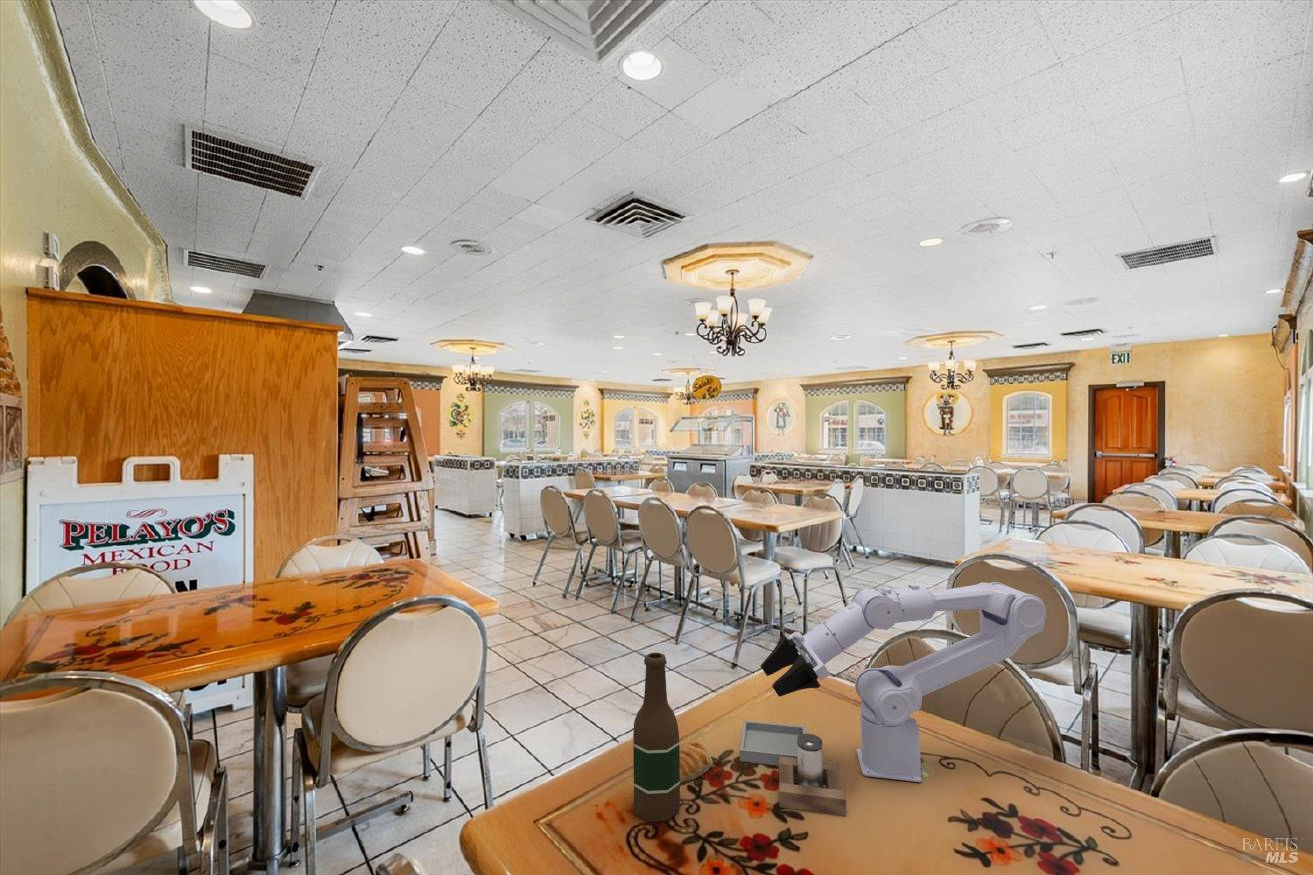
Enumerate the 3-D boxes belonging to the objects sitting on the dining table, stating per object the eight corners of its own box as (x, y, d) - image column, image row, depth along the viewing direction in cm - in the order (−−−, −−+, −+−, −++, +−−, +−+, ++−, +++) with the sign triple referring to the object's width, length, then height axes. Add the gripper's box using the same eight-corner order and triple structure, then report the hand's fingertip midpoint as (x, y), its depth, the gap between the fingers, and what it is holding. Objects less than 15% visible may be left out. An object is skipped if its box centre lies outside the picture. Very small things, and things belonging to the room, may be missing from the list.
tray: (805, 736, 108) (805, 726, 108) (808, 768, 97) (808, 757, 97) (743, 730, 110) (743, 720, 110) (739, 761, 100) (739, 749, 100)
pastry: (683, 793, 91) (682, 770, 91) (652, 778, 95) (652, 755, 95) (715, 767, 98) (715, 745, 98) (685, 754, 102) (685, 733, 103)
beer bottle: (686, 797, 89) (685, 649, 90) (672, 828, 82) (671, 667, 82) (642, 787, 92) (641, 644, 92) (624, 817, 85) (623, 661, 85)
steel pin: (822, 785, 92) (821, 734, 92) (823, 801, 88) (823, 747, 88) (797, 782, 93) (796, 732, 93) (798, 797, 89) (797, 745, 89)
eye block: (838, 777, 94) (838, 762, 94) (845, 815, 85) (845, 799, 85) (779, 770, 97) (779, 756, 97) (779, 807, 87) (779, 791, 87)
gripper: (806, 605, 105) (747, 645, 104) (836, 634, 90) (768, 681, 89) (826, 635, 105) (767, 675, 104) (859, 669, 90) (791, 716, 90)
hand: (769, 680), depth 97 cm, fingers open, 7 cm apart
